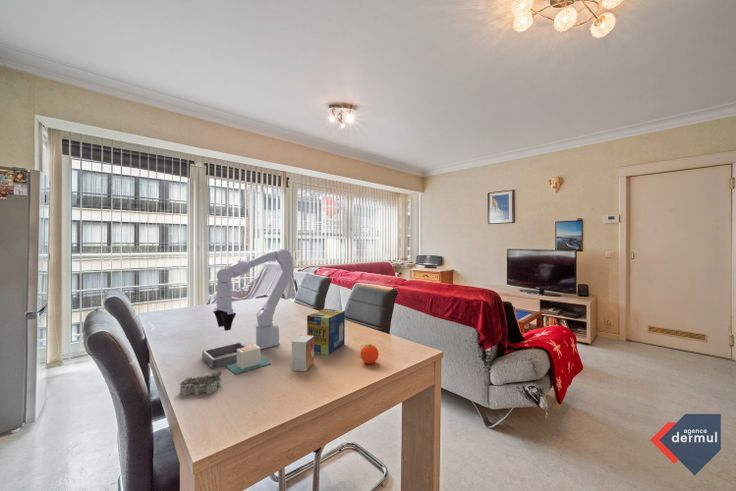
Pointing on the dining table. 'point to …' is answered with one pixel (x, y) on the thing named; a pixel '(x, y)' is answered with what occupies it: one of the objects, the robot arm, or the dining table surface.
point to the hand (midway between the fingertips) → (224, 328)
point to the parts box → (248, 356)
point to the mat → (237, 370)
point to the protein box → (327, 330)
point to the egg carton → (201, 384)
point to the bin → (223, 361)
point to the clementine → (369, 353)
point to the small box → (302, 353)
